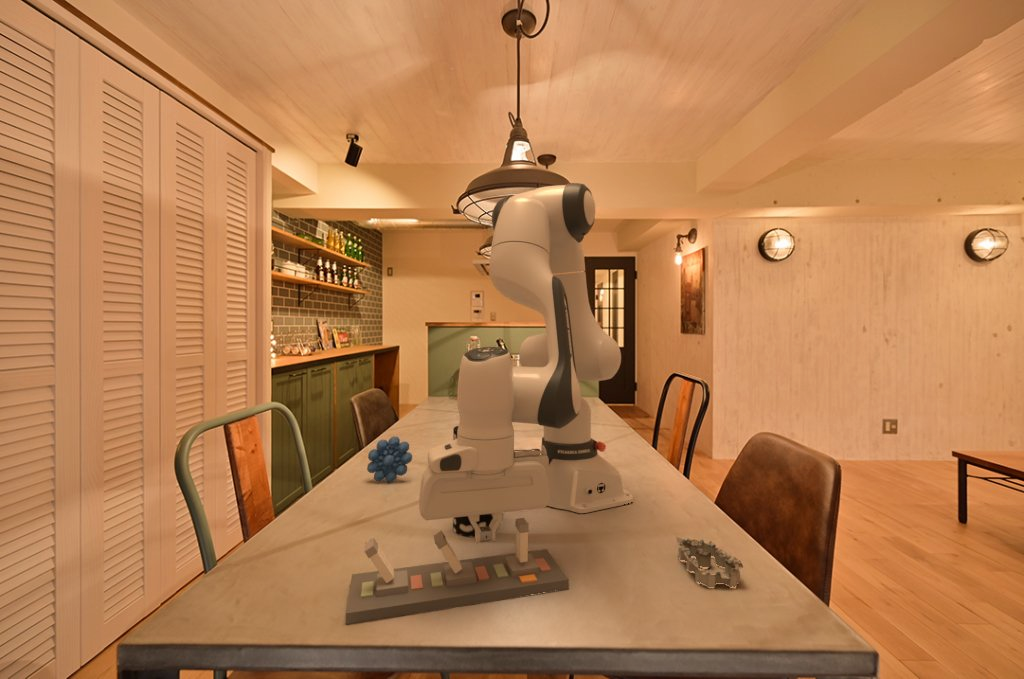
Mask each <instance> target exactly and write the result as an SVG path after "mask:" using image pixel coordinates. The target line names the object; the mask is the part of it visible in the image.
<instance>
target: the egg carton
mask: <svg viewBox="0 0 1024 679" xmlns="http://www.w3.org/2000/svg"><path fill="white" fill-rule="evenodd" d="M676 543H677V544H678V555H677V556H678V559H679V558H680V560H685V561H687V564H686V566H685V567H686V569H688V570H689V571H694V572H695V574H694V580H696V581H697V582H699V583H700V582H701V583H703V584H705V585H707V586H708V587H715V588H716V586H715V584H716V583H724V584H727V585H729V586H730V587H732V586H733V587H735V586H736V587H738V585H737V583H738V582H739V583H740V581H741V572H740V569H743V568H744V565H743V563H742V562H741V561H742V560H740V559H739V558H736V557H735V556H734V557H733V556H732V555H730V554H728V553H727V552H726V551H725V550H723V549H721V548H719V547H716V544H715V543H714V542H713V540H710V541H709V542H704V540H703V539H700V540H697V539H690V538H687V539H684V538H680V537H676ZM691 556H695V557H696V559H695V558H691ZM711 556H714V557H715V559H714V560H715V562H716V564H717V565H719V566H722V567H725V569H724V571H725V572H721V571H717V572H715V575H711V574H710V573H711V572H710V571H709V570H708V569H701V568H700V566H702V567H710V566H712V565H711V563H712V558H711ZM716 564H715V565H716Z"/></svg>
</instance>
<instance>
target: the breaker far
mask: <svg viewBox="0 0 1024 679" xmlns="http://www.w3.org/2000/svg"><path fill="white" fill-rule="evenodd" d="M363 552H364V553H365V554H366V556H367V558H368V559H370V560H371V562H372V563H373V565H374V566H375V568H376V569H377V570H376V571H379V573H380V574H381V576H382V577H383V579H384V580H385V582H386V583H388V582H389V581H391V580H392V579H394V569H395V568H393V566H392V565H391V564H390V561H389V560H388V559H387V557H386V556H385V554H384V553H383V551H382V550H381V548H380V546H379V543H378V541H377V540H376V539H375V537H373V538H371V539H370V540H368V541H366V542H365V544H364V550H363Z"/></svg>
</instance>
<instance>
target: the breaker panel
mask: <svg viewBox="0 0 1024 679" xmlns="http://www.w3.org/2000/svg"><path fill="white" fill-rule="evenodd" d="M459 561H460V564H461V567H462V569H461V570H460V571H459V572H457V573H456V574H455V573H454V571H453V569H452V568H451V566H450V565H449V563H448V561H444V562H443V561H442V562H438V563H437V562H434V563H429V564H419V565H414V566H412V565H411V566H406V567H398V568H393V569H394V579H392V580H391V581H389V582H388V583H386V582H385V580H384V579H383V577H382V576H381V574H380V573H379V571H378V570H375V571H367V572H361V573H360V572H359V573H352V574H351V579H350V586H349V591H348V598H347V599H348V600H347V606H346V611H345V612H346V613H345V625H350V624H357V623H363V622H369V621H370V622H371V621H376V620H382V619H388V618H389V619H390V618H395V617H401V616H409V615H414V614H421V613H427V612H433V611H439V610H440V611H441V610H446V609H447V610H448V609H452V608H458V607H465V606H471V605H478V604H483V603H484V604H485V603H490V601H491V602H496V601H503V600H509V598H510V599H516V598H515V597H517V598H521V597H520V596H523V597H527V596H526V595H529V596H532V595H531V594H536V595H539V594H538V593H542V594H544V593H543V592H548V593H552V592H551V591H555V590H556V591H555V592H558V591H557V590H561V591H566V589H567V590H569V588H570V584H569V583H570V580H569V578H568V577H567V576H568V575H566V574H565V572H564V571H563V569H562V568H561V566H560V565H559V564H558V562H557V561H556V559H554V557H553V555H551V553H550V551H549V550H548V549H547V548H542V549H537V550H536V549H535V550H528V561H527V562H520V561H519V559H518V557H517V556H516V552H512V553H505V554H498V555H497V554H496V555H490V556H489V555H488V556H484V557H483V556H481V557H474V558H467V559H459ZM564 589H565V590H564Z"/></svg>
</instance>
